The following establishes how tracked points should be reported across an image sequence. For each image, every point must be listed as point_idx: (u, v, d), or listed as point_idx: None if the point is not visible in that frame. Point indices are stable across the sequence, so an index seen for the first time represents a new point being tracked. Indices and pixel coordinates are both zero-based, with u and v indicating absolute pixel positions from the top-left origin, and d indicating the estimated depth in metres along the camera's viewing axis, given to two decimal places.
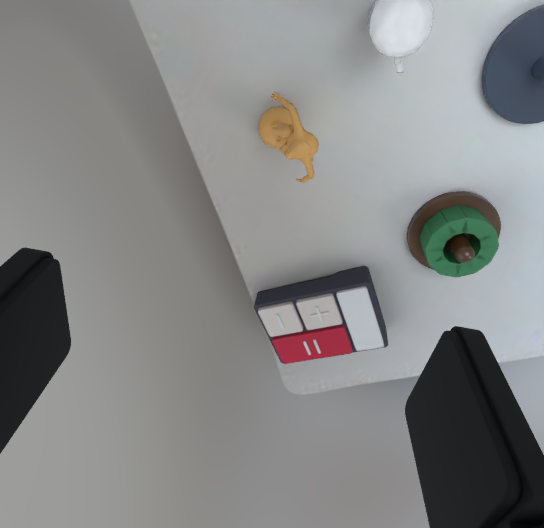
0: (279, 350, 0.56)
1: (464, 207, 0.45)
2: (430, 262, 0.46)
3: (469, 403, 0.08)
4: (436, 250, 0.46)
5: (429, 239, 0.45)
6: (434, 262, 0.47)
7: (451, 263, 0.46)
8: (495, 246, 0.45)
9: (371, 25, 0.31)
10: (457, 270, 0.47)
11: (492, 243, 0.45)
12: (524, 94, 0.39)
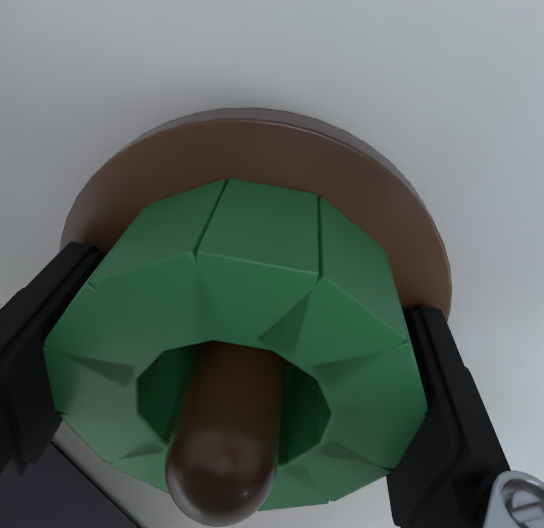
0: None
1: (248, 189, 0.08)
2: (111, 457, 0.10)
3: (423, 374, 0.08)
4: (108, 415, 0.09)
5: None
6: (131, 455, 0.10)
7: None
8: (410, 411, 0.08)
9: None
10: None
11: (391, 397, 0.08)
12: None
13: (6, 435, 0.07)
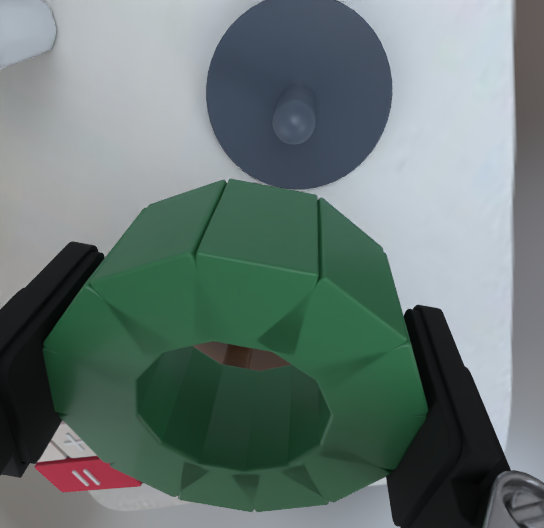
0: (48, 478, 0.41)
1: (247, 190, 0.08)
2: (110, 458, 0.10)
3: (423, 374, 0.08)
4: (108, 416, 0.09)
5: None
6: (131, 456, 0.10)
7: (208, 466, 0.09)
8: (410, 412, 0.08)
9: None
10: (246, 493, 0.10)
11: (391, 398, 0.08)
12: (278, 145, 0.24)
13: (6, 435, 0.07)
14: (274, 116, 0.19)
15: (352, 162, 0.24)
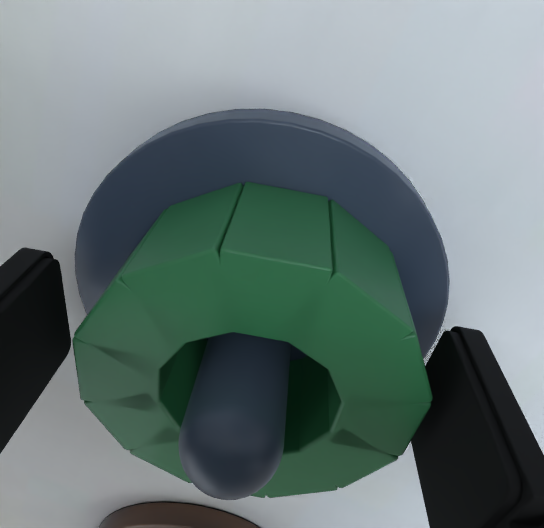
0: None
1: (263, 192, 0.09)
2: (132, 445, 0.10)
3: (469, 403, 0.08)
4: (131, 404, 0.09)
5: None
6: (151, 443, 0.10)
7: None
8: (415, 399, 0.08)
9: None
10: None
11: (397, 386, 0.08)
12: None
13: None
14: (180, 443, 0.08)
15: None
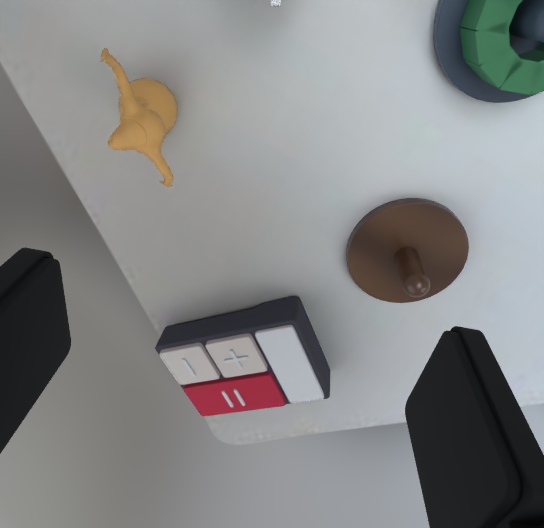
0: (194, 400, 0.44)
1: None
2: (484, 60, 0.24)
3: (469, 403, 0.08)
4: (496, 29, 0.23)
5: (484, 3, 0.23)
6: (490, 60, 0.24)
7: (524, 60, 0.24)
8: None
9: None
10: (533, 79, 0.25)
11: None
12: None
13: None
14: (541, 14, 0.22)
15: None
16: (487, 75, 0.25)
